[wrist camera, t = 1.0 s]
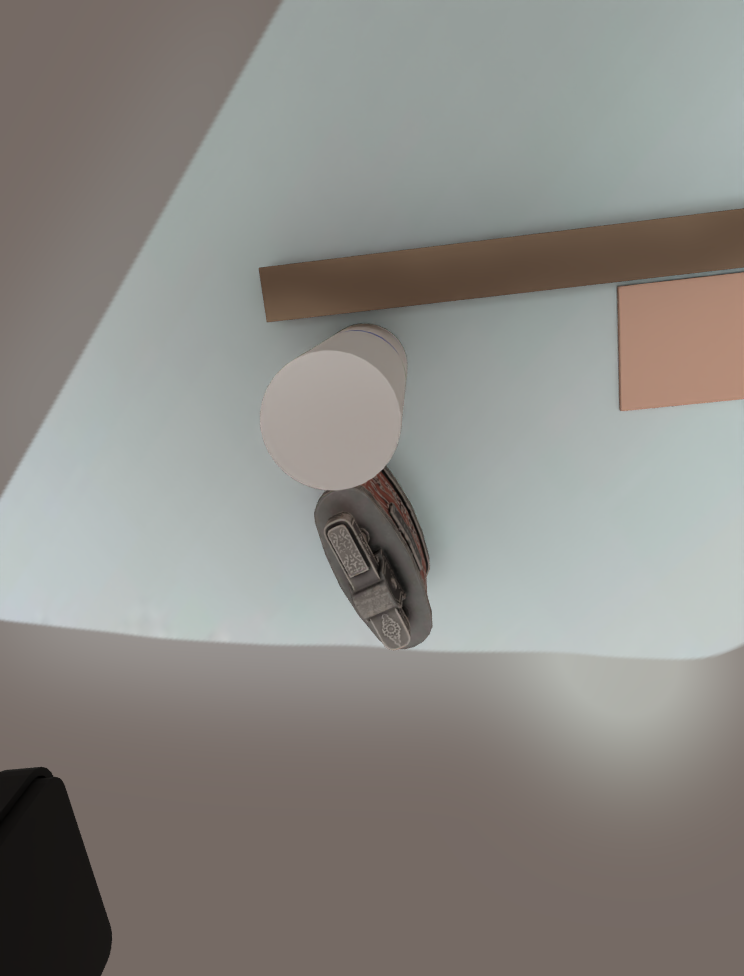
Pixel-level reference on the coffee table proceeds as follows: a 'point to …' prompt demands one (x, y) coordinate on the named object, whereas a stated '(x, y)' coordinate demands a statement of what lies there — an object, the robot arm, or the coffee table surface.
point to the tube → (337, 409)
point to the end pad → (681, 342)
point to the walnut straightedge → (505, 266)
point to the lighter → (378, 558)
